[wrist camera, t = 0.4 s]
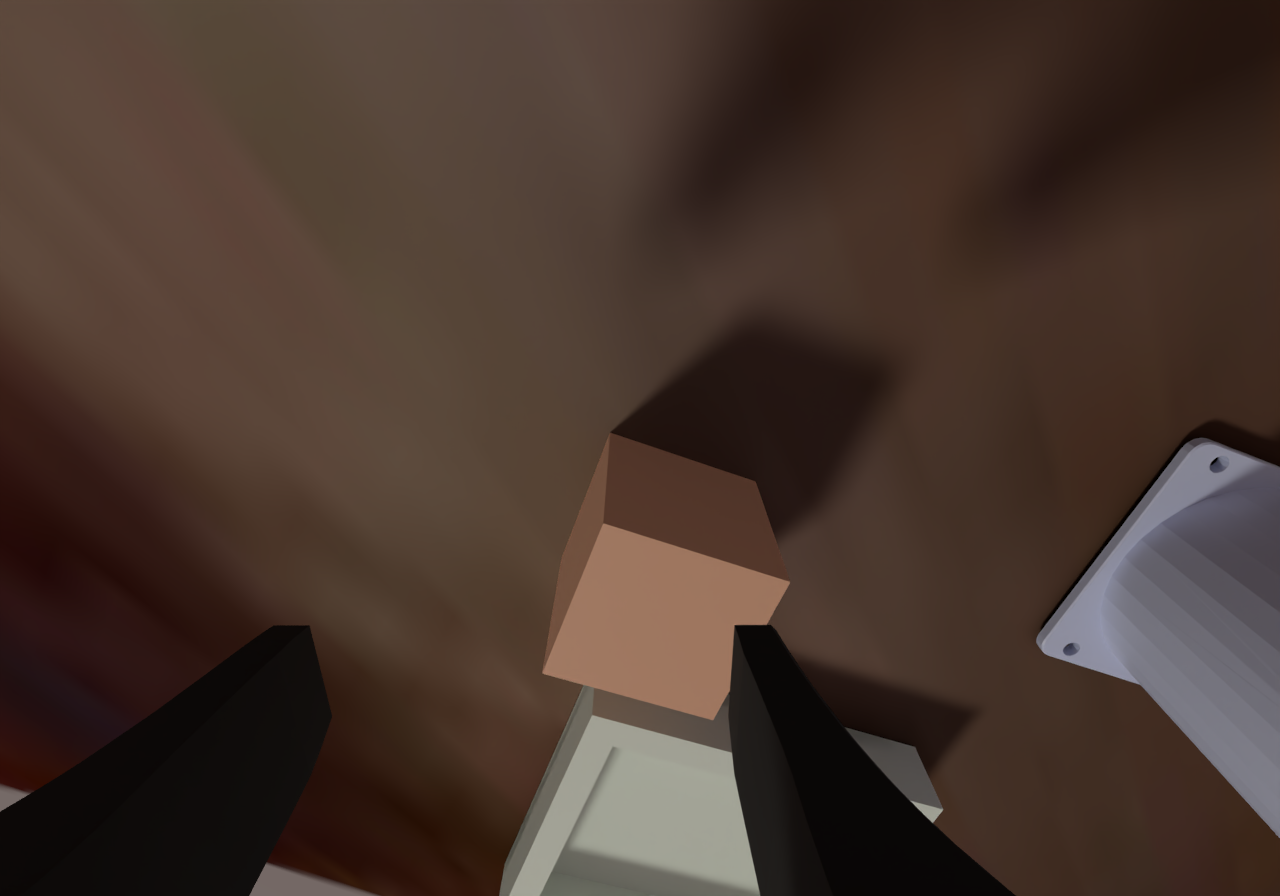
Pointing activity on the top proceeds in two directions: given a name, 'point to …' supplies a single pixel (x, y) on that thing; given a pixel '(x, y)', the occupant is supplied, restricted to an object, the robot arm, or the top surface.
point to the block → (662, 579)
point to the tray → (654, 805)
